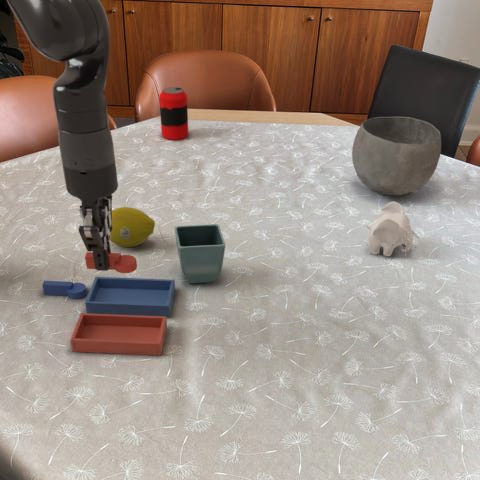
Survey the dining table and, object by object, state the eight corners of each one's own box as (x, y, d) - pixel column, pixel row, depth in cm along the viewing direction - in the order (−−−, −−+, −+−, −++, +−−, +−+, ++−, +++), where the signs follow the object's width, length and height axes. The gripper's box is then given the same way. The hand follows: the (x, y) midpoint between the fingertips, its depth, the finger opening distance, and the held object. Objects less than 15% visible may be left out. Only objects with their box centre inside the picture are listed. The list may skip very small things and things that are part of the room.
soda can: (193, 136, 186) (192, 90, 177) (174, 142, 182) (171, 96, 173) (175, 129, 189) (173, 84, 181) (156, 135, 185) (153, 90, 177)
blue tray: (86, 313, 119) (84, 302, 117) (97, 287, 126) (95, 276, 124) (169, 317, 119) (168, 306, 117) (175, 290, 125) (174, 279, 124)
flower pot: (219, 264, 133) (218, 223, 127) (225, 287, 127) (225, 244, 121) (176, 267, 132) (173, 225, 126) (180, 290, 126) (178, 247, 119)
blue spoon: (42, 297, 123) (40, 287, 121) (47, 287, 125) (45, 277, 124) (84, 299, 123) (83, 289, 121) (88, 289, 125) (87, 279, 124)
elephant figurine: (414, 265, 134) (423, 225, 128) (356, 256, 137) (362, 216, 131) (418, 244, 141) (427, 205, 135) (363, 236, 143) (370, 196, 137)
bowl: (376, 214, 151) (387, 148, 141) (332, 180, 165) (339, 118, 154) (448, 200, 158) (463, 136, 147) (399, 168, 171) (411, 108, 161)
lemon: (99, 249, 137) (94, 213, 131) (114, 233, 142) (110, 197, 137) (147, 257, 135) (144, 221, 129) (160, 240, 140) (158, 204, 135)
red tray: (72, 351, 111) (70, 340, 109) (82, 324, 117) (80, 312, 115) (161, 355, 110) (160, 343, 109) (167, 327, 116) (166, 316, 115)
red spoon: (85, 272, 104) (83, 259, 102) (89, 261, 106) (88, 248, 105) (135, 273, 104) (133, 261, 102) (138, 262, 106) (137, 250, 105)
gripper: (72, 139, 98) (89, 245, 110) (50, 176, 88) (71, 288, 100) (122, 141, 98) (133, 246, 110) (105, 177, 88) (119, 289, 100)
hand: (103, 266), depth 105 cm, fingers closed on red spoon, 1 cm apart
